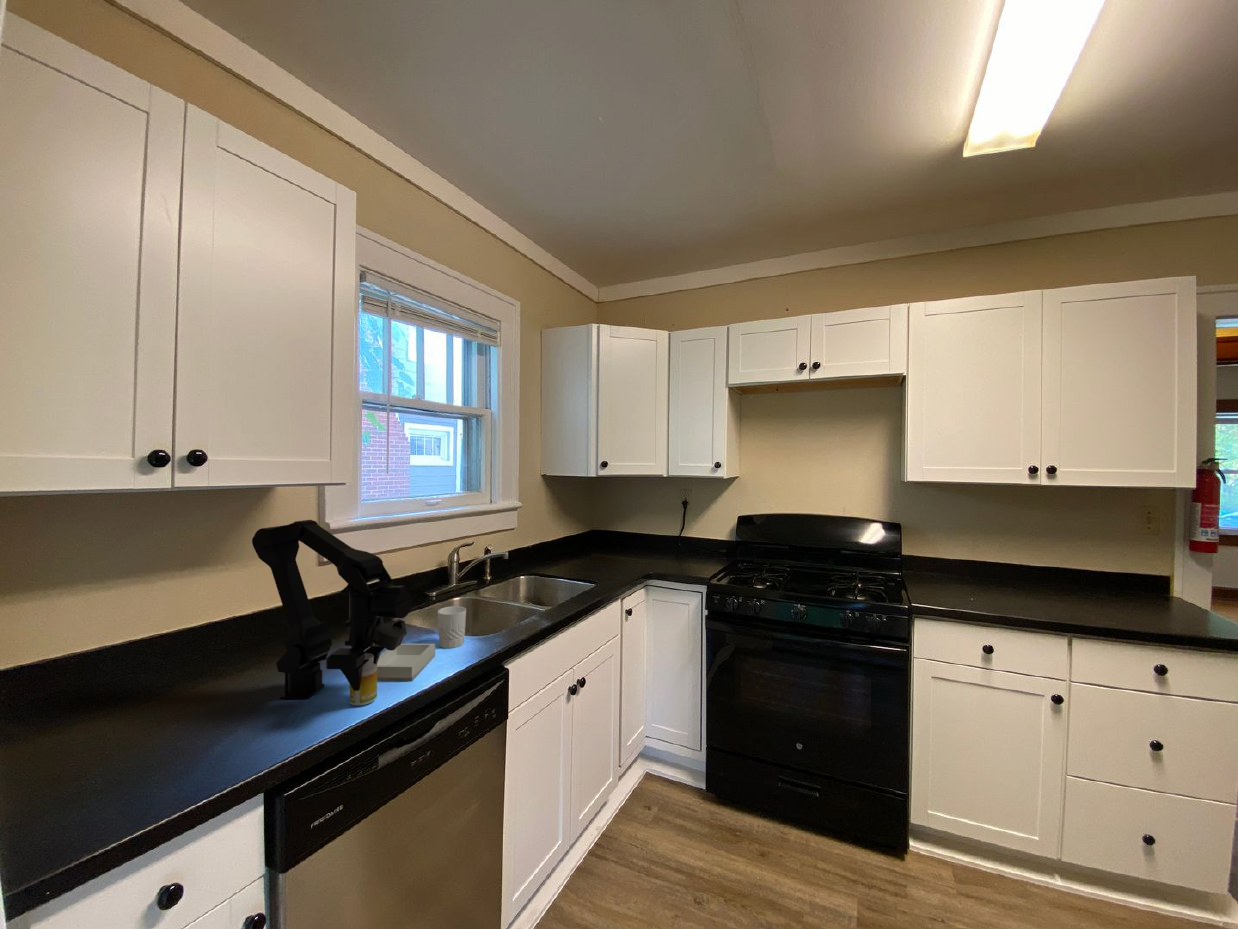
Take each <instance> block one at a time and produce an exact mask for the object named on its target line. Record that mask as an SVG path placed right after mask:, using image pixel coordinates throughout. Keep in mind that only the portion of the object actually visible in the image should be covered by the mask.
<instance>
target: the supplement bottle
mask: <svg viewBox="0 0 1238 929" xmlns="http://www.w3.org/2000/svg"><path fill="white" fill-rule="evenodd" d="M365 659H369V661H368V662H367V663H366V664H365V665H364V666H363V669H362V677H361V684H360V689H359V690H358V691H354V690H353V689H352V687H351V685H350V684H349V703H350V704H351V705H352V706H355V707H357V706H366V705H368V704H371V703H372V702H375V700H376V699H377V697H378V681H377V666H376V664H374V663H373V662H374V655H373V654H370V653H365Z"/></svg>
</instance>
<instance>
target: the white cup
mask: <svg viewBox="0 0 1238 929" xmlns="http://www.w3.org/2000/svg"><path fill="white" fill-rule="evenodd" d="M466 620H467V608H466V607H464V606H458V605H456V606H455V605H452V606H445V607H442V608H440V609H438V610H437V627H438V628H437V631H438V642H439V646H440V647H441V648H442V649H456V648H458V647H459V648H460V647H461V646H463V645H464V643H465V634H466V632H465V631H466Z"/></svg>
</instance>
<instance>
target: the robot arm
mask: <svg viewBox="0 0 1238 929" xmlns="http://www.w3.org/2000/svg"><path fill="white" fill-rule="evenodd" d="M299 542H301V543H303V544H304V545H305V546H307V547H308V548H309V549H311V550H312V551H314V552H315V553H317V554H318V555H320V556H321V557H322V558H324V559H325V560H327V561H328V562H330V563H331V564H333V565H334V566H335V568H336V570H337V574H338V575H339V577H340V578H342V579H343V581H344V582H346V584H347V585H346V586H345V587H344V588H343V589H341V590H340V593H341V595H349V598H348V599H349V600H348V601H349V604H348V605H349V606H348V607H349V609H348V610H349V612H348V615H349V616H348V620H346V621H344V627H345V628H348V638H347V639H345V641H344V646H347V647H349V646H350V647H351V648H346V647H345V648H342V647H341V648H338V649H337V650H335V651H333V652H332V653H331V654H329V652H330V650H331V647H332V646H333V641H332V638H333V637H334V636H333V635H332V633H331V632H330V627H329V623H328V622H327V621H323V622H321V621H319V620H318V619H317V618H315V616H314V612H313V608H312V606H311V603H310V601H309V600H310V599H309V597H308V595H307V594H308V593H307V591H306V587H305V585H304V581H303V578H302V575H301V572H300V569H299V565H298V563H297V557H298V554H299V550H300V543H299ZM251 543H252V546H253V549H254V551H255V553H256V555H257V557H258V559H260V560H261V561H262V562H263V563H264V564H265V565H267V566H269V568H270V571H271V574H272V576H273V580H274V584H275V586H276V589H277V593H278V596H279V597H280V598H279V599H280V601H281V605H282V608H283V611H284V614H285V617H286V618H285V619H286V621H287V624H288V631H287V633H286V637H285V641H284V643H285V648H286V652H284V654H282V656H281V657H280V658H279V659H278V660H277V661H276V663H275V665H276V668H277V671H278V673H283V674H284V692H283V693H282V694H281V695H279V699H285V700H286V699H289V700H290V699H294V700H297V699H299V700H300V699H301V700H302V699H303V700H305V699H306V700H307V699H310V698H311V697H312V696H314V695H316V694H317V692H319V691H320V690H322V689H323V688H324V687H325V683H323V669H321V662H322V661H325V669H327V670H340V671H341V673H342V675H343V676H344V677H345V679H346V680H347V682H348V683H349V686H350V685H351V687H352V689H353V690H354V691H358V690H359V689H360V684H361V677H362V669H363V666H364V665H365V664H366V663H367V662H368V661H369V659H365V653H370V654H373V655H374V662H373V663H374V664H376V666H377V662H378V659H379V656H380V655H381V654H382V653H383V652H384V650H391V651H392V650H395V649H396V648H397V647H398V646H400V645H401V644H402V642H403V639H404V637H405V636H406V635H407V628H406V621H405V620H402V619H404V618H406V617H407V616H408V614H410V612H411V609H412V606H413V598H412V596H411V594H410V592H409V591H407V587H406V585H405V584H404V585H402V584H401V585H394V584H395V582H394V580H393V579H392V577H391V575H390V574H389V572H388V571H387V569H386V567H385V565H384V564H383V563H384V561H383V560H382V558H381V557H380V556H377V555H376V554H373V553H371V552H368V551H365V550H360V549H356V548H353V547H352V546H350V545H348V544H347V543H345V542H344V541H343V540H341V539H339V538H338V537H336V536H335V535H334V534H332V533H330V532H329V531H327V530H326V529H325V528H323V527H321V525H319V523H318V522H317V521H316V520H313V519H304V520H297V521H294V522H292V523H289V524H285V525H278V526H271V527H263V528H259V529H258V530H256V532H255V534H254V536H253V537H252V538H251ZM374 581H375V582H374ZM384 618H392V619H398V620H396V621H395V622H394V623H391V622H390V623H385V622H384ZM328 654H329V655H328Z"/></svg>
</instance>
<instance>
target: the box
mask: <svg viewBox="0 0 1238 929" xmlns="http://www.w3.org/2000/svg"><path fill="white" fill-rule="evenodd" d="M435 657H436V643H401V645H400V646H398V647H397V648H396V649H395V650H392V651H391V650H387V649H385V651H383V652H382V653H380V656H379V659H378V662H377V682H413V681H414V680H415V679H416V678H417V676H418V675H419V674H420V673H421V672H422V671H423V670H424V669H425V668H426V667H427V666H428V664H430V662H432V660H433V659H434V658H435Z"/></svg>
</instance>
